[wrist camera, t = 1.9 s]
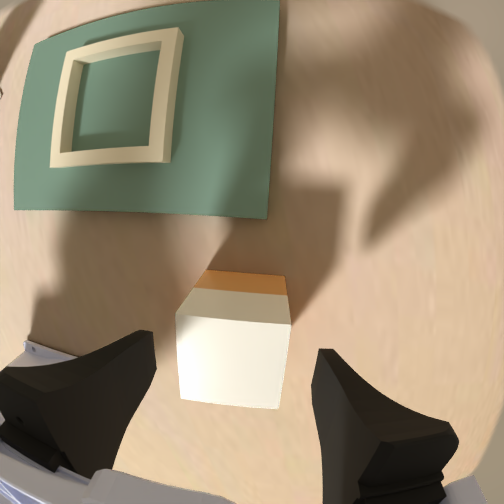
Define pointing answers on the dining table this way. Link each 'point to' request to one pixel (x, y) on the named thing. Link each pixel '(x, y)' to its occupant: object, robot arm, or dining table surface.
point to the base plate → (153, 113)
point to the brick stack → (234, 339)
